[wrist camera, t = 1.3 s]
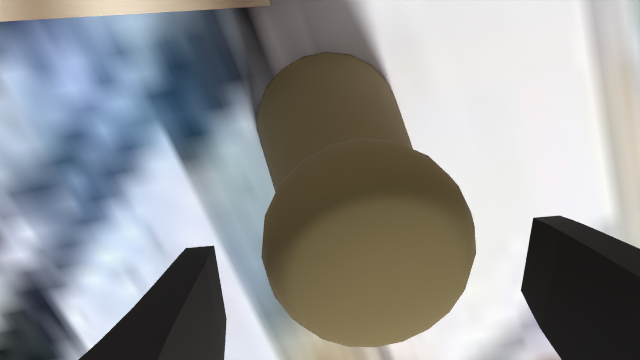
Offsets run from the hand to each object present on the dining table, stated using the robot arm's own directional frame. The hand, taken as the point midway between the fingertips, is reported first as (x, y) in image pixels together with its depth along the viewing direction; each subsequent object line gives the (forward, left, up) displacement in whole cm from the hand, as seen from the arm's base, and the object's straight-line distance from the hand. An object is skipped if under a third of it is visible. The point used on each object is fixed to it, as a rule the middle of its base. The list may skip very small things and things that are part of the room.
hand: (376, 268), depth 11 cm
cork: (0, 0, -11) cm, 11 cm away
